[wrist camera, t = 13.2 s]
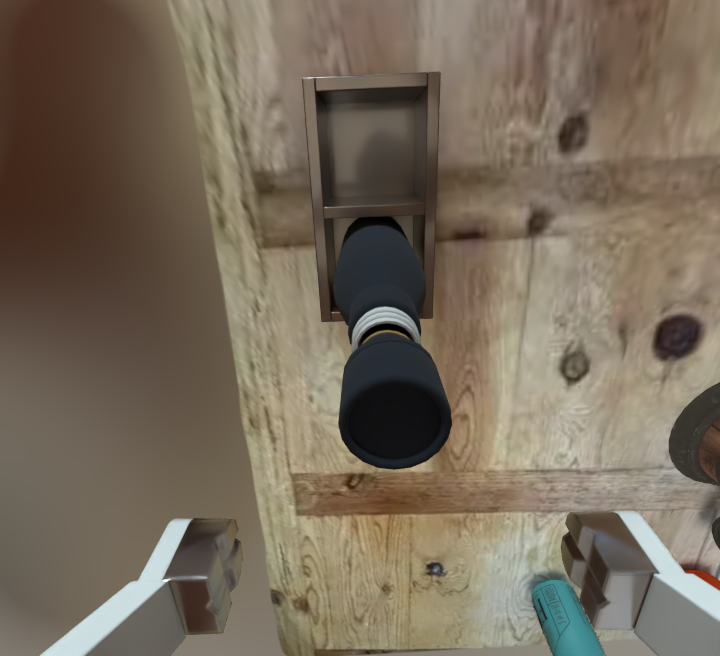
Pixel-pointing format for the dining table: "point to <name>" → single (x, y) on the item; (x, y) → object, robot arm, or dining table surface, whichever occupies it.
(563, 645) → the beverage bottle
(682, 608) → the robot arm
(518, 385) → the dining table surface
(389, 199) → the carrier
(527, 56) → the dining table surface
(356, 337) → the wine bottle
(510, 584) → the dining table surface
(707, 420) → the tankard
